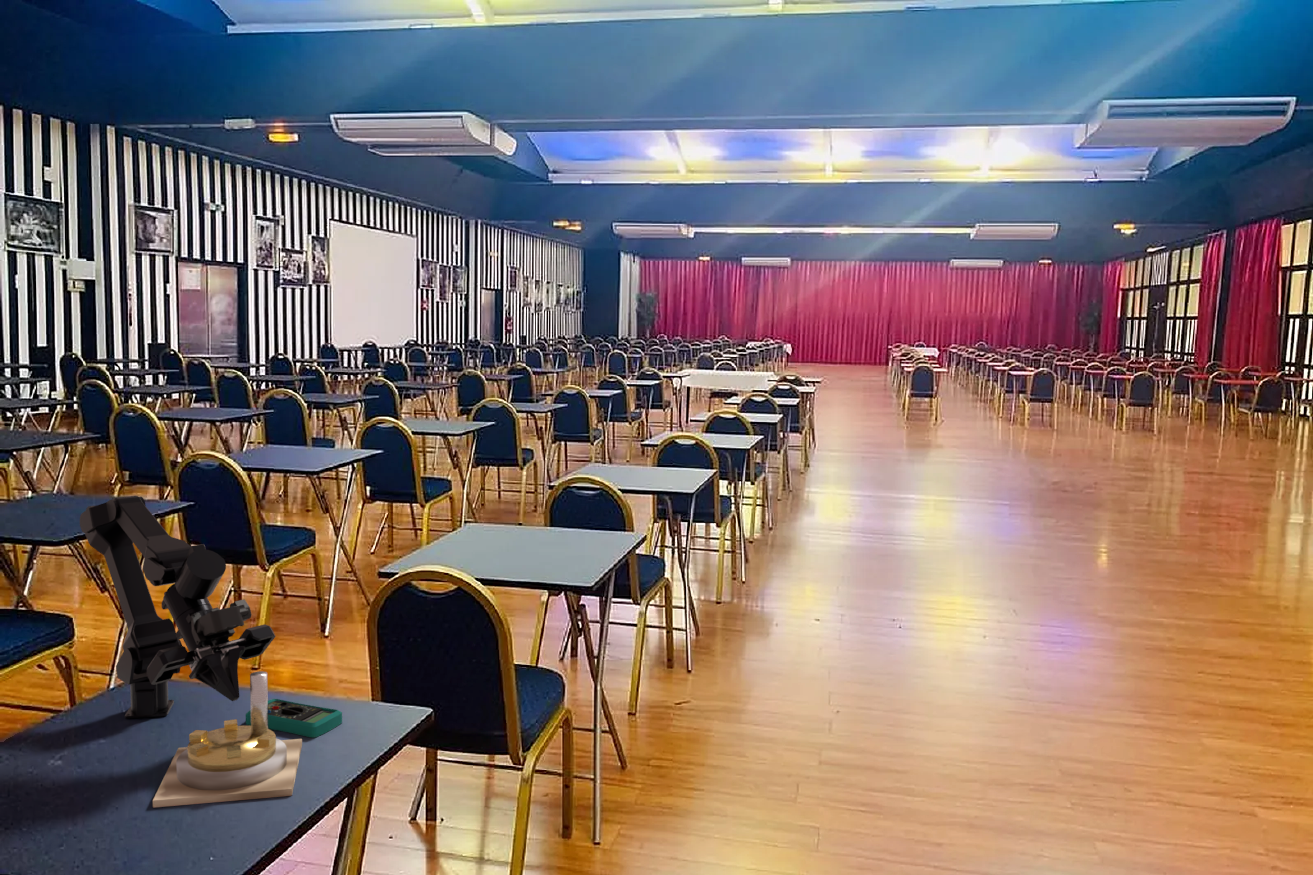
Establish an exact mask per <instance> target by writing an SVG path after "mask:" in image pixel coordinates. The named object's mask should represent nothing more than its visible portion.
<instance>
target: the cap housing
mask: <svg viewBox="0 0 1313 875" xmlns="http://www.w3.org/2000/svg"><path fill="white" fill-rule="evenodd" d="M187 747H188V746H184V747H178V748H177V750H176V752H175V754H174V756H173V758H172V759H171V763H170V764H169V767H168V768H167V770H166V773H165V775H164V776H163V779H162V781H161V783H160V785H159V787H158V789H157V791H156V793H155V795H154V797H153V799H152V808H162V807H163V808H164V807H174V806H175V807H176V806H186V805H187V806H188V805H198V804H208V803H210V804H211V803H221V802H235V801H245V800H256V799H257V800H258V799H266V798H267V799H268V798H277V797H278V798H279V797H290V796H293V792H294V786H295V783H296V782H295V781H296V777H297V773H298V772H297V771H298V768H299V762H300V757H301V753H302V747H303V739H302V738H294V739H279V738H277V737H276V752H275V754H274V755H273V756H272V757H271V758H270V759H268V760H267V761H265V762H263V763H261V764H259V765H256V766H253V767H250V768H246V769H241V770H236V771H228V772H208V771H202V770H198V769H195V768H193V767H192V766H190V765H189V763H188V748H187Z"/></svg>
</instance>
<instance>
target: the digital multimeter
mask: <svg viewBox="0 0 1313 875" xmlns="http://www.w3.org/2000/svg"><path fill="white" fill-rule="evenodd" d="M342 723H343V712H342V711H340V710H338V709H336V708H335V709H334V708H327V707H321V706H316V705H315V706H314V705H310V704H305V703H298V702H296V701H295V702H293V701H288V700H284V699H280V698H271V699H268V729H270V730H271V731H273V730H274V731H280V732H283V733H289V734H294V735H299V736H302V737H307V738H313V739H315V738H316V739H317V738H318V737H319V736H323V735H325V734H326V733H328V732H330V731H331V730H333V729H335V728H337V727H338V726H340V725H342ZM245 726H251V709H249V710H248V711H247V712H246V713H245Z"/></svg>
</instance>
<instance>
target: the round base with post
mask: <svg viewBox="0 0 1313 875" xmlns="http://www.w3.org/2000/svg"><path fill="white" fill-rule="evenodd" d="M249 683H250V684H249V686H250V688H249V689H250V710H251V726H249V725H238V719H229V720H223V727H220V728H216V729H212V730H209V731H208V730H202V729H201V730H200V729H195V730H193V731H192V732H190V733H189V735H188V740H189V742H188V744H187V746H186V747H187V748H188V763H189V765H190V766H192V767H193V768H195V769H198V770H202V771H208V772H228V771H236V770H241V769H246V768H250V767H253V766H256V765H259V764H261V763H263V762H265V761H267V760H268V759H270V758H271V757H272V756H273V755H274V754H275V752H276V738H277V736H276V734H275V731H273V730H272V729H268V701H269V699H268V698H269V697H268V694H269V692H268V690H269V689H268V672H267V671H264V670H263V671H261V670H260V671H253V672H251V673H250V674H249Z"/></svg>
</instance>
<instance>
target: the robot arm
mask: <svg viewBox="0 0 1313 875" xmlns="http://www.w3.org/2000/svg"><path fill="white" fill-rule="evenodd" d="M79 527H80V531H81V532H82V533H83V534H84V535H85V537H86V540H87V542H88V544H89V546H90V547H91V548H93V549H94V550H95V551H97V552H98V553H100V554H102V556H103V557H104V559H105V562H106V566H107V568H108V571H109V575H110V577H111V582H112V583H113V586H114V590H115V593H116V596H117V598H118V602H119V604H120V605H119V606H120V608H121V611H122V613H123V617H124V620H125V624H126V626H127V632H126V635H125V638H124V642H123V644H122V650H123V652H122V654H121V655H120V658H118V661H117V663H116V665H115V670H116V675H117V677H116V678H117V679H118V680H120V681H122V683H123V682H124V683H125V684H127V685H128V686H129V685H130V686H129V687H130V690H129V691H130V707H129V708H128V710H127V711H126V712H125V715H124V719H137V718H138V719H139V718H153V717H167V716H168V715H169V713H170V711H171V709H172V708H173V706H174V703H175V701H174V699H169V681H171V679H172V678H173V676H174V674H176V675H177V674H180V672H181V668H183V667H186V666H189V668H190V670H191V672H190V673H189V675H188V677H189V679H190V680H194V679H196V680H198V681H199V682H200V683H203V684H205V685H206V686H208V687H210V688H211V689H213V690H215V691H216V692H218V694H221V695H222V696H223V697H225V698H226V699H228V700H230V701H231V702H235V701H237V700H238V699H239V698H240V687H239V673H238V672H239V669H238V668H239V660H240V659H241V660H242V661H243V660H244V661H245V660H249V659H252V658H256V657H259V656H261V655H263V654H264V652H266V650H267V649H268V647H269V646H270V645H271V643H272V642H273V640H274V639H275V638H276V637H277V636H276V634H275V632H274V630H273V629H272V627H271V626H270V625H268V624H265V623H264V624H260V625H257V626H252V627H248V628H245V630H244V631H243V632H242V634H241V635H240V636H239V637H238V638H236V639H233V640H230V639H229V638H230V637H233V636H234V634H235V633H236V631H235V628H238V627H243V626H245V623H244V622H245V621H247V620H250V619H252V610H251V607H250V606H249V604H248V603H247V601H246V599H245V598H243V599H240V600H235V601H234V602H231V603H230V604H229V607H225V608H221V609H220V608H219V607H214V608H213V606H212V604H211V603H210V600H209V599H208V598H209V597H210V596H212V594H213V593H214V591H215V590H216V588H217V586H218V584H219V582H220V580H221V579H222V577H223V576H224V574H225V572H226V569H227V564H226V561H225V558H223V557H222V556H221V555H220V554H218V553H217V552H215V551H214V550H210V549H207V548H206V546H205V544H204V543H203V544H196V545H195V544H194V545H190V544H188V543H187V541H185V540H183V539H180V538H175V537H173V536H171V535H170V534H169V533H168V532H167V530H165V528H164V527H163V525H162V524H161V523H160V522H159V521H158V520H157V519H156V517H155V516H154V515H153V513H152V512H151V511H150V510H149V508H148V507H147V506H146V501H145V499H144V497H142V496H139V495H129V496H117V497H113V499H109V500H107V501H106V502H104V503H100V504H97V505H87V507H86V509H85V511H83V512H81V514H80V517H79ZM134 546H135V547H136V548H135V547H134ZM136 549H138V552H140V554H141V555H142V557H143V565H142V566H141V564H140V560H139V558H138V554H137V551H136ZM146 580H147V581H149V583H150V584H151V585H152V586H153V587H160V586H167V585H170V586H169V587H168V588H167V590H166V591H165V592H164V593H163V598H162V601H161V609H162V610H167V609H168V612H169V614H170V616H171V617H172V619H173V621H172V619H170V617H169V618H164V619H163V618H161V617H160V616H159V615H158V613H157V611H156V607H155V605H154V600H153V599H152V596H151V593H150V590H149V587H148V584H147V581H146ZM174 623H175V625H174ZM175 626H176V628H177V631H176V629H175ZM181 640H183V642H184V645H185V646H184V645H183V643H182V641H181Z"/></svg>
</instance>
